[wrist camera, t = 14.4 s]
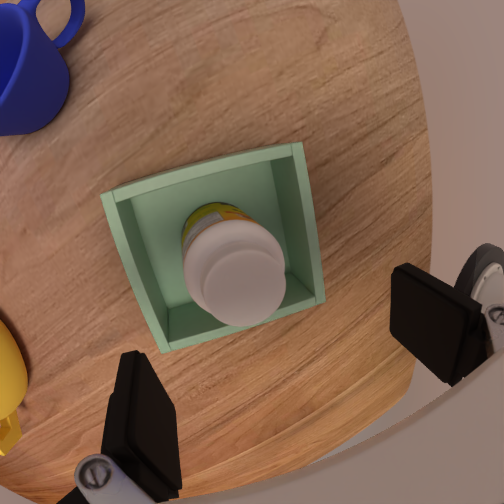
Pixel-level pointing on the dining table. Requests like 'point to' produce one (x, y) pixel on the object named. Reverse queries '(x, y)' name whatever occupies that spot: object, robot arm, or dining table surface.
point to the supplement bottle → (232, 265)
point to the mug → (32, 67)
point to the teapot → (10, 389)
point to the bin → (188, 200)
